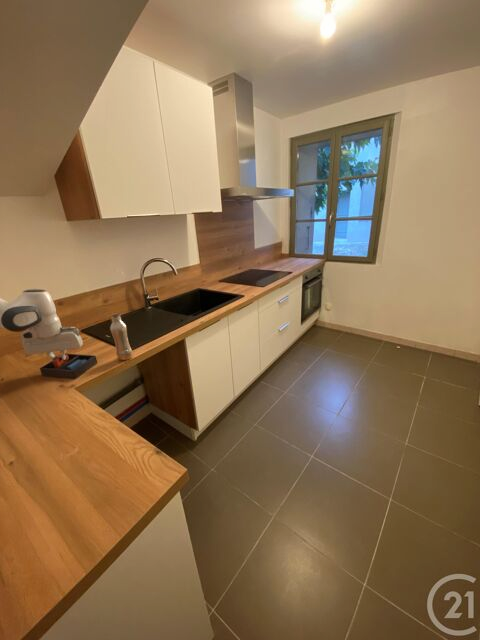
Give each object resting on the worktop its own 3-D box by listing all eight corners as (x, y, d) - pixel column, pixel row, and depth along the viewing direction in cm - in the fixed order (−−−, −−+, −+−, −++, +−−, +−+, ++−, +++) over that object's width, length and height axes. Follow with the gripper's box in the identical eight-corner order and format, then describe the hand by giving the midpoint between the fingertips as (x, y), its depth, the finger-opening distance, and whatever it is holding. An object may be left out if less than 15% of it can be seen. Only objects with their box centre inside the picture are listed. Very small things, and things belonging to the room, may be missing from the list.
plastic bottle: (122, 363, 111) (111, 319, 104) (115, 358, 115) (104, 316, 108) (136, 357, 115) (126, 315, 108) (129, 353, 120) (119, 312, 112)
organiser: (42, 375, 105) (39, 368, 104) (67, 360, 116) (64, 353, 115) (75, 379, 102) (72, 371, 100) (97, 362, 113) (95, 355, 111)
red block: (62, 367, 105) (59, 360, 104) (51, 368, 105) (49, 362, 104) (70, 357, 113) (68, 351, 112) (60, 358, 112) (58, 352, 111)
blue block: (74, 373, 104) (72, 367, 103) (66, 373, 105) (64, 366, 103) (90, 363, 111) (88, 356, 110) (82, 362, 112) (80, 356, 111)
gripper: (80, 323, 107) (89, 352, 112) (24, 329, 104) (36, 359, 109) (74, 329, 101) (83, 360, 106) (15, 335, 98) (28, 367, 103)
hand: (59, 359), depth 107 cm, fingers closed on red block
